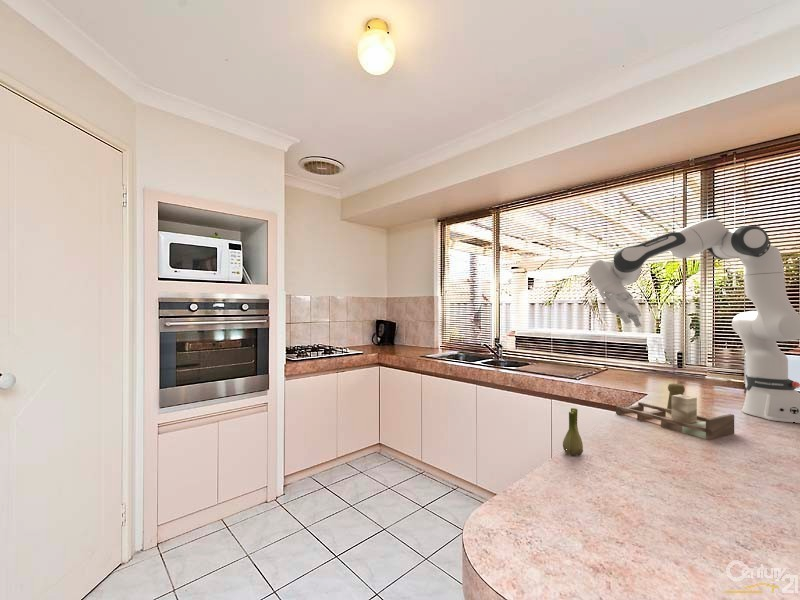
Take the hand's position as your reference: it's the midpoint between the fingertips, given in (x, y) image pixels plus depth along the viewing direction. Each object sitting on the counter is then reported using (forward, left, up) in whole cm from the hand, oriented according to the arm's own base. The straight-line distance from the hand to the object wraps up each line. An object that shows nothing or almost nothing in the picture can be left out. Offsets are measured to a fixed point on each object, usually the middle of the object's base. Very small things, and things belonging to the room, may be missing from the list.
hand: (634, 325), depth 143 cm
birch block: (-15, +9, -31) cm, 35 cm away
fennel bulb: (+11, +57, -33) cm, 67 cm away
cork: (-13, -10, -33) cm, 37 cm away
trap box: (-11, +7, -33) cm, 36 cm away
